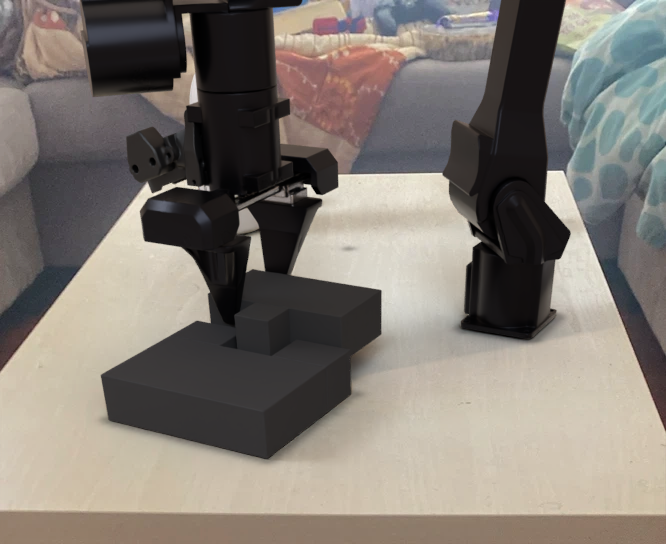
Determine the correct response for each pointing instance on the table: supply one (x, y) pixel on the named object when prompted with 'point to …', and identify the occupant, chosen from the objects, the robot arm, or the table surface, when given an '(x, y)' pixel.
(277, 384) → the charcoal pad
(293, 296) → the black t-shaped block
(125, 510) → the table surface
